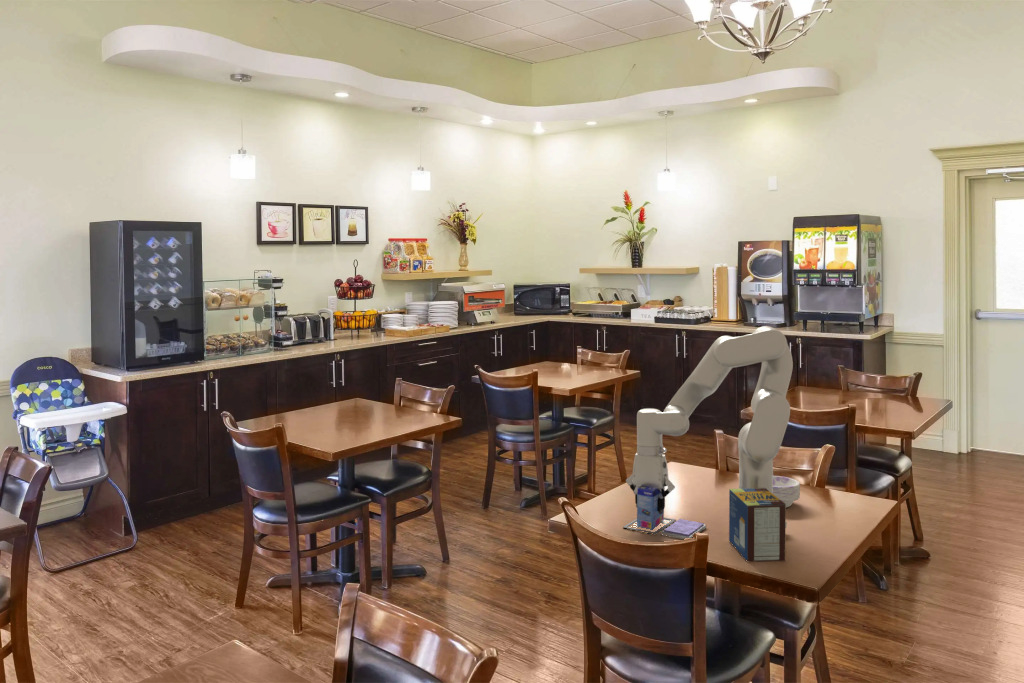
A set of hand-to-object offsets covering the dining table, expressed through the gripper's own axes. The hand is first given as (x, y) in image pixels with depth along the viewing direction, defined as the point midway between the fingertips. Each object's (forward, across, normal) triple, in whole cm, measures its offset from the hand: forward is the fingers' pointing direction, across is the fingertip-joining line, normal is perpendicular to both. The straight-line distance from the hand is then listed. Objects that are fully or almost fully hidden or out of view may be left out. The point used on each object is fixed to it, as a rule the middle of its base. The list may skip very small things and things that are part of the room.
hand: (650, 507), depth 232 cm
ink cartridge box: (+5, 0, 0) cm, 5 cm away
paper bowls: (+6, -25, -40) cm, 48 cm away
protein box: (+6, -33, +4) cm, 34 cm away
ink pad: (+5, -11, 0) cm, 12 cm away
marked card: (+5, 0, 0) cm, 5 cm away
